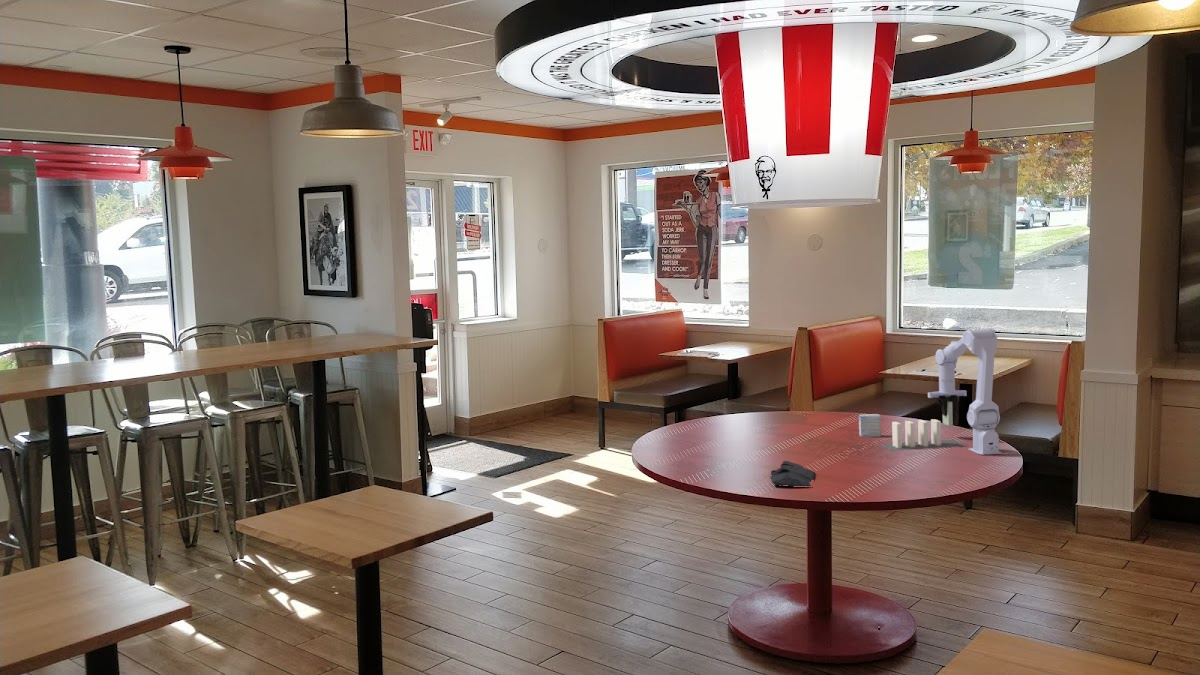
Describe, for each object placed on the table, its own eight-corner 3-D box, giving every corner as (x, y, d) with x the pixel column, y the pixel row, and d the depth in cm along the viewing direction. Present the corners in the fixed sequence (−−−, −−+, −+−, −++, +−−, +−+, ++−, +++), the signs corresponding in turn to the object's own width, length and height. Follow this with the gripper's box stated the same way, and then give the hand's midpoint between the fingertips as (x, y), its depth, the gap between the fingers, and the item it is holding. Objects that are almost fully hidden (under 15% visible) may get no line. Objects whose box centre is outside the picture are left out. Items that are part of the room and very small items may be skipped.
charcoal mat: (968, 446, 343) (968, 445, 343) (891, 451, 341) (891, 450, 341) (953, 440, 355) (953, 439, 355) (879, 445, 353) (879, 444, 353)
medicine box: (879, 435, 372) (878, 413, 371) (881, 437, 368) (880, 415, 367) (859, 435, 373) (858, 414, 372) (861, 437, 368) (860, 416, 368)
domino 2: (909, 444, 350) (909, 420, 350) (915, 447, 345) (914, 423, 345) (905, 444, 350) (905, 421, 349) (910, 447, 345) (910, 423, 344)
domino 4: (935, 442, 351) (935, 419, 350) (941, 445, 346) (940, 421, 345) (931, 442, 351) (930, 419, 350) (937, 445, 346) (936, 421, 345)
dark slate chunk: (765, 489, 298) (765, 475, 298) (770, 473, 320) (770, 459, 319) (814, 490, 294) (813, 475, 294) (816, 473, 316) (816, 460, 315)
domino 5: (946, 423, 361) (946, 400, 360) (952, 425, 356) (952, 402, 355) (942, 423, 361) (942, 400, 360) (948, 425, 356) (948, 402, 355)
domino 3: (922, 443, 351) (922, 420, 350) (928, 446, 346) (927, 422, 345) (918, 443, 351) (918, 420, 350) (923, 446, 346) (923, 422, 345)
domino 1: (896, 445, 350) (896, 421, 349) (901, 447, 345) (901, 423, 344) (892, 445, 350) (892, 421, 349) (897, 448, 345) (897, 424, 344)
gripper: (960, 377, 361) (961, 412, 363) (924, 380, 360) (924, 414, 362) (968, 380, 354) (969, 415, 356) (931, 382, 353) (932, 417, 355)
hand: (947, 415), depth 358 cm, fingers closed on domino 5, 1 cm apart
